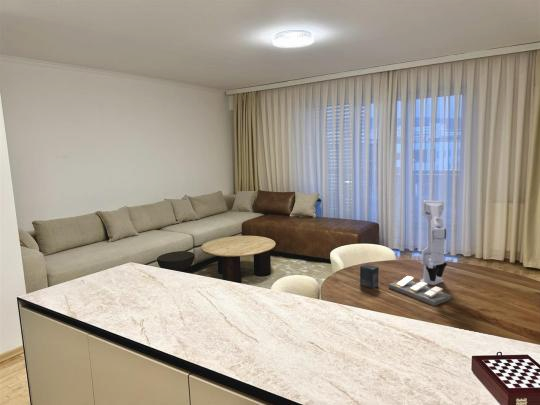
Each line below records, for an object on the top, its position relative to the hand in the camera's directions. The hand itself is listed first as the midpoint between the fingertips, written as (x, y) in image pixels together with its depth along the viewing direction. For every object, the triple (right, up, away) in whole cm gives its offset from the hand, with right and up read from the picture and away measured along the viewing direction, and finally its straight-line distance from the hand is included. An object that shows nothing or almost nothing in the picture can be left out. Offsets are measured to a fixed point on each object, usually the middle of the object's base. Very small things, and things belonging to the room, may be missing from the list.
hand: (435, 278), depth 175 cm
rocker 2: (-7, -5, +3) cm, 9 cm away
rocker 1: (-11, -4, +10) cm, 15 cm away
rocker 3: (-3, -5, -4) cm, 7 cm away
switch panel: (-7, -8, +4) cm, 11 cm away
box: (-29, -7, +15) cm, 33 cm away
